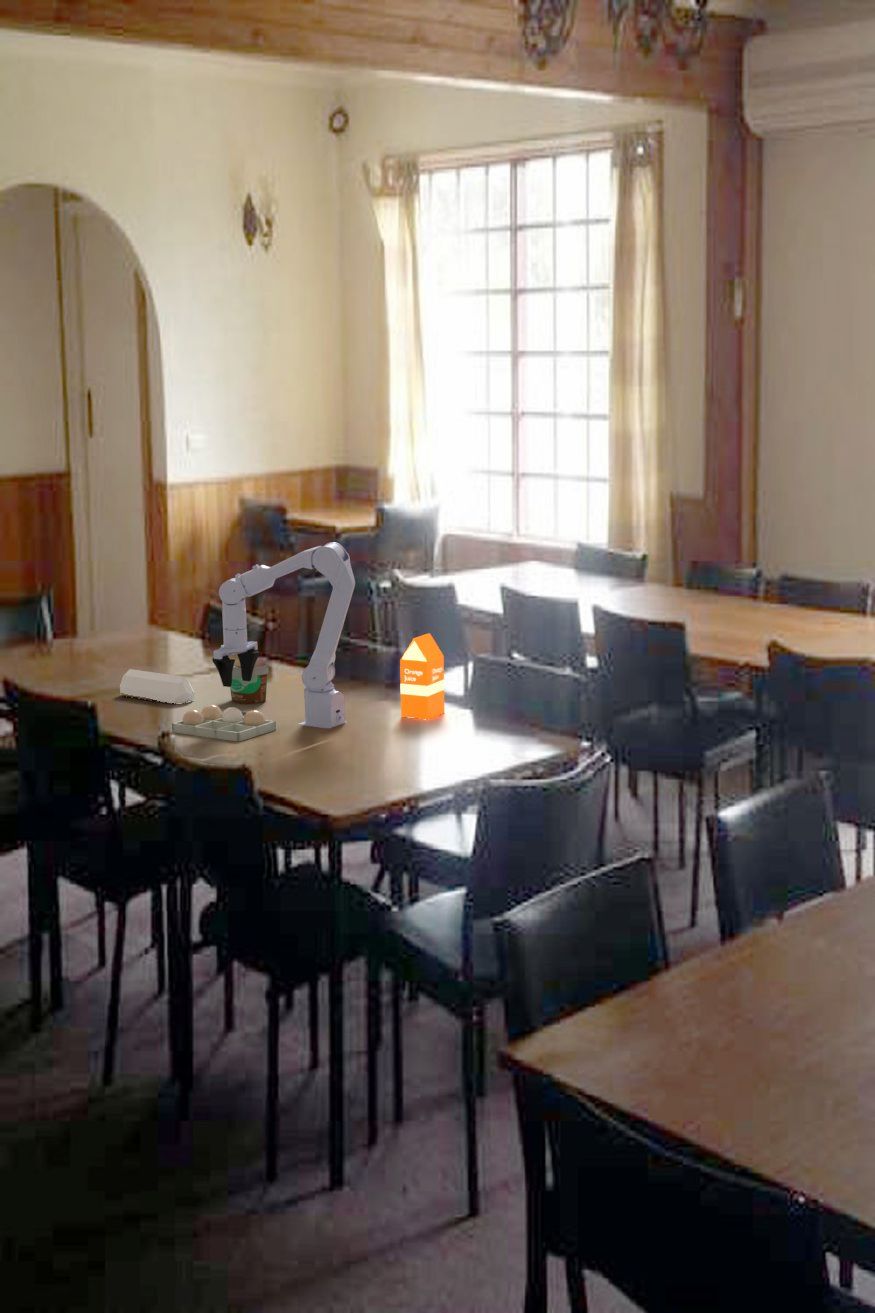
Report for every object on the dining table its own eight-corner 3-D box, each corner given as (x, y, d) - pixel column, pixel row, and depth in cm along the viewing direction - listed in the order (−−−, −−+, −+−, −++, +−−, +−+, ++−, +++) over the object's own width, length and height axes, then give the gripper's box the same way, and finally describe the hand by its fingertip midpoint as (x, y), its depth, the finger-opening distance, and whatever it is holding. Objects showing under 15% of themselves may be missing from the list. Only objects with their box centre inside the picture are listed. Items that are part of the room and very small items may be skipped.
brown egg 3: (269, 730, 391) (268, 709, 390) (256, 734, 387) (255, 713, 386) (253, 727, 394) (252, 707, 393) (239, 731, 389) (238, 711, 388)
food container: (217, 704, 423) (215, 665, 422) (230, 699, 429) (229, 661, 427) (257, 708, 418) (255, 669, 416) (270, 703, 423) (269, 665, 421)
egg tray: (276, 732, 391) (275, 721, 391) (238, 744, 380) (238, 733, 379) (210, 722, 402) (209, 712, 402) (172, 734, 391) (171, 723, 390)
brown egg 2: (226, 723, 398) (225, 703, 397) (213, 728, 394) (212, 707, 393) (210, 721, 401) (209, 701, 400) (197, 725, 396) (196, 705, 396)
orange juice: (400, 717, 405) (398, 637, 401) (417, 710, 412) (416, 631, 409) (428, 720, 401) (427, 639, 397) (445, 713, 409) (444, 633, 405)
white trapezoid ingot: (205, 686, 428) (139, 676, 442) (187, 676, 422) (122, 667, 436) (196, 712, 426) (130, 702, 440) (178, 703, 420) (113, 693, 434)
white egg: (247, 726, 394) (246, 706, 394) (234, 730, 390) (233, 710, 389) (231, 724, 397) (230, 704, 396) (217, 728, 393) (217, 708, 392)
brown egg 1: (208, 729, 392) (207, 708, 392) (194, 733, 388) (193, 712, 387) (192, 727, 395) (191, 706, 394) (178, 731, 391) (177, 710, 390)
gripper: (240, 622, 405) (242, 676, 407) (202, 631, 393) (205, 687, 395) (263, 624, 401) (265, 679, 403) (225, 633, 389) (228, 690, 391)
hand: (237, 683), depth 399 cm, fingers open, 7 cm apart
